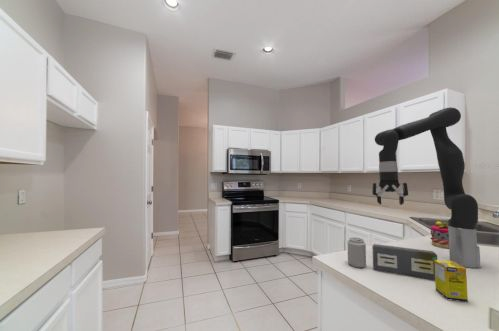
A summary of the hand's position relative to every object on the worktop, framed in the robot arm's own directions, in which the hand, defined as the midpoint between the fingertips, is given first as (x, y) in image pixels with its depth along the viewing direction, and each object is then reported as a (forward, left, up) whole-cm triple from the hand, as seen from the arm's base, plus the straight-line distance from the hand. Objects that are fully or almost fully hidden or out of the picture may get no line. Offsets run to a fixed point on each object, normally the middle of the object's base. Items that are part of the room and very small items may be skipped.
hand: (390, 204), depth 99 cm
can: (+15, +10, -28) cm, 34 cm away
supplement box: (-13, +24, -28) cm, 39 cm away
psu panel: (-2, +11, -28) cm, 30 cm away
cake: (-33, -41, -28) cm, 59 cm away
